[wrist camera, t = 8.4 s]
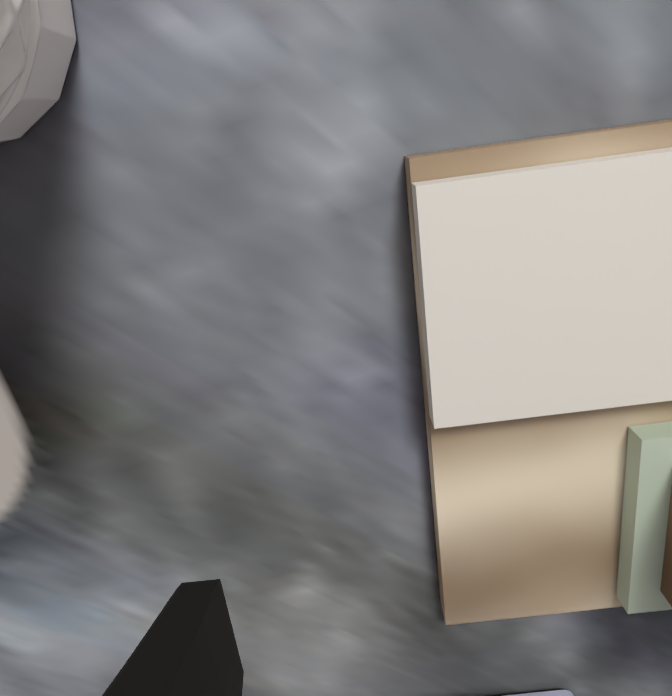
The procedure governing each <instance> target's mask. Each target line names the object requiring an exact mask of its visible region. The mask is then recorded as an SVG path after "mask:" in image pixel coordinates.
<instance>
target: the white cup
mask: <svg viewBox="0 0 672 696" xmlns="http://www.w3.org/2000/svg"><path fill="white" fill-rule="evenodd" d="M75 43H76V33H75V26H74V19H73V12H72V5H71V0H0V143H2V142H6V141H10V140H14V139H18V138H20V137H22V136H23V135H24V134H25V133H26V132H27V131H28V130H29V129H30V128H31V127H32V126H33V125H34V124H35V123H36V122H37V121H38V120H39V119H40V118H41V117H42V116H43V115H44V114H45V113H46V112H47V111H48V110H49V109H50V108H51V107H52V106H53V105H54V104H55V103H56V102H57V101H58V100H59V98H60V95H61V92H62V88H63V85H64V81H65V78H66V74H67V71H68V67H69V64H70V60H71V57H72V54H73V50H74V47H75Z"/></svg>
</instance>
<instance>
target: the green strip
mask: <svg viewBox="0 0 672 696" xmlns="http://www.w3.org/2000/svg"><path fill="white" fill-rule="evenodd" d="M671 486H672V421H670V422H662V423H653V424H645V425H636V426H628V440H627V454H626V468H625V482H624V496H623V510H622V524H621V538H620V552H619V566H618V580H617V594H616V596H617V597H618V599H619V601H620V602H621V604H622V606H623V607H624V609H625V611H626V612H627V614H634V613H644V612H653V611H663V610H672V607H671V605H670V604H669V602H668V601H667V600H666V598H665V597H664V595H663V594H662V593H661V591H660V587H661V578H662V569H663V559H664V550H665V541H666V532H667V523H668V514H669V504H670V495H671Z"/></svg>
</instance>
